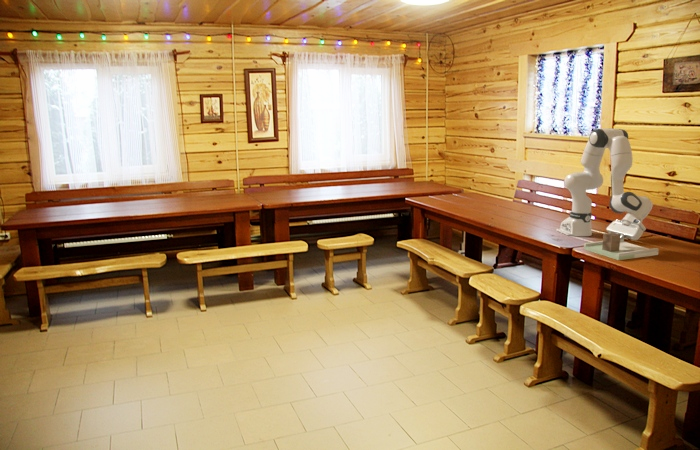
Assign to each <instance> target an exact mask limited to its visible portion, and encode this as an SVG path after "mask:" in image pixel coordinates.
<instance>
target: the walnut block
mask: <svg viewBox="0 0 700 450" xmlns="http://www.w3.org/2000/svg"><path fill="white" fill-rule="evenodd" d="M620 236H621V235H620V234H616V233H608V232H605V233H603V235H602V241H603V245H602V250H606V251H609V252H615V251H619V247H620Z"/></svg>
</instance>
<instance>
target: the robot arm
mask: <svg viewBox="0 0 700 450" xmlns="http://www.w3.org/2000/svg"><path fill="white" fill-rule="evenodd" d="M583 149H584V150H583V151H582V155H581V158H580V164H581V165H582V166H583V171H582V172H581V171H580V172H572V173H570V174H567V175H566V176H565V177H564V179H563V185H564V186H565V189H567V190H568V191H569V192H570V195H571V201H572V205H571V211H569V212H568V214H569V216H568V217H566V218H565V219H564V220H562V221H561V223H560V225H559V227H558V228H556V230H555V231H556V232H559V233H561V234H564V235H566V236H570V237H573V236H574V237H590V236H592V235H593V231H592V214H593V213H592V203H593V201H592V199H591V197H589V196H588V195H587V191H588V190H595V189H596V190H597V189H598V188H600V187H601V186H602V185H603V183H604V177H603V175H602V173H601V172H600V168H601V167H600V166H601V162H602V159H603V156H604V154H605V151H606V149H608V150H609V155H610V165H611V167H610V171H611V172H610V174H611V175H610V185H611V187H610V188H611V193H610V194H611V195H610V200H609V208H610V210H611V211H612V212H613V213H615V214H620V215H621V214H624V213H625V212H627V213H625V215H624V217H623V218H622V219H615V220H613V221H612V222H610V223H609V224H608V226H606V228H605V230H606V231H607V232H606V233H616V234H620V235H621V236H620V241H621V240H623V239H624V240H625V238H626V239H629V240H633V241H638V240H639V239H640V238H641V236H643V234H644V231H646V230H647V228H646V226H645V225H644V224H643V220H644V219H646V218H647V217H648V215H649V214H650V212H651V211H652V209H653V206H654V205H653V201H652V200H651V199H650V198H649V197H647V196H640V195H637V194H636V193H634V192H631V191H626V192H624V180H625V179H624V178H625V176H626V175H627V173H628V172H629V170H630V169H631V168H632V165H633V152H632V147H631V143H630V141H629V133H628V132H627V131H626V130H625V129H622V128H596V129H594V130H592V131H591V132H590V134H589V139H588V140H587V142H586V144H585V147H584V148H583Z"/></svg>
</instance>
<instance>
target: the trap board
mask: <svg viewBox="0 0 700 450" xmlns="http://www.w3.org/2000/svg"><path fill="white" fill-rule="evenodd" d="M602 245H603V240H599V241H598V240H597V241H591V242H584V243H583V250H584V251H588V252H590V253H591V252H592V253H595V254H597V255H601V256H604V257H606V258H607V257H608V258H610V259H614V260H617V261H623V260H628V259H629V260H630V259H638V258H644V257H652V256H658V255H659V247H658V248H657V247H654V248H653V247H652V248H648V247H645V246H640V245H637V244H633V243H630V242H627V241H625V238H624V239H623V240H621V241H620V247H619V251H615V252H609V251H606V250H602Z"/></svg>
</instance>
